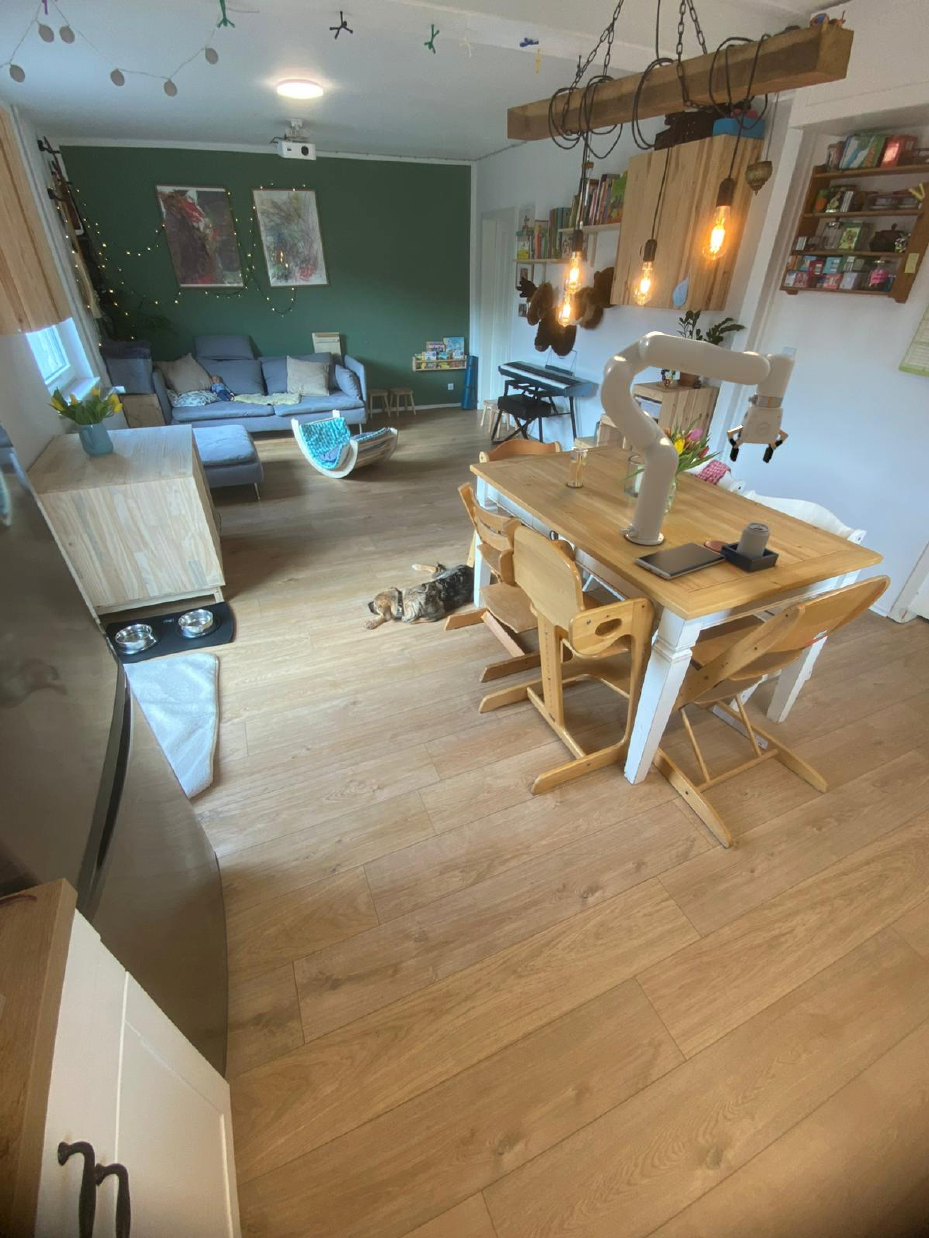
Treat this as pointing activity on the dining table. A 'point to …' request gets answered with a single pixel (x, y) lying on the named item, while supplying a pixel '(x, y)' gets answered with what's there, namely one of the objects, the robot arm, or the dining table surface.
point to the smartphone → (679, 560)
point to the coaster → (715, 545)
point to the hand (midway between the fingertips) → (749, 461)
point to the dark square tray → (745, 562)
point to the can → (753, 540)
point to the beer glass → (577, 466)
